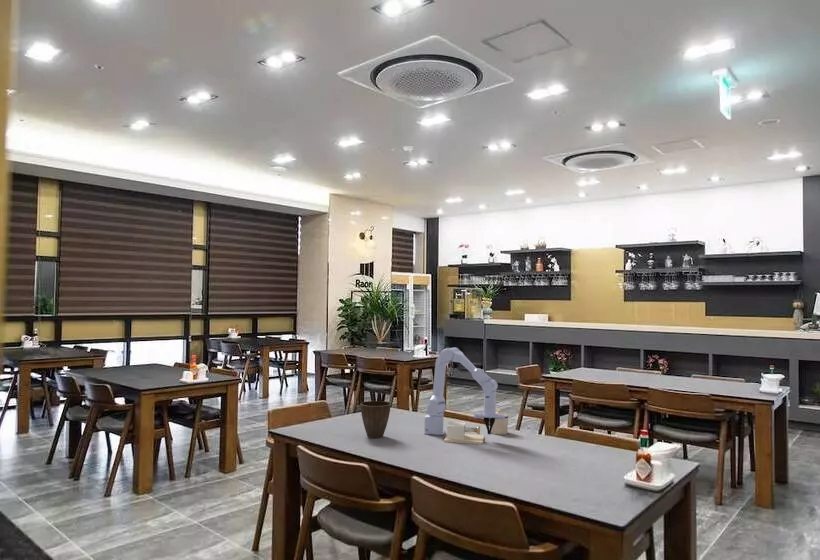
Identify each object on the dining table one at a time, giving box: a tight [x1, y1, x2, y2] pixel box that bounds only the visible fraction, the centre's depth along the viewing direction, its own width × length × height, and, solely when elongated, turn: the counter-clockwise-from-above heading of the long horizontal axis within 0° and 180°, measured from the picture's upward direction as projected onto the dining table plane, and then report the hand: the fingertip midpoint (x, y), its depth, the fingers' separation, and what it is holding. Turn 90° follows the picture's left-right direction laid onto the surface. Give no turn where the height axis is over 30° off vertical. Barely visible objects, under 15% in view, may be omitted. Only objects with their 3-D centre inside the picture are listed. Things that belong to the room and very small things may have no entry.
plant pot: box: [359, 400, 392, 439], centre depth 277 cm, size 15×15×16 cm
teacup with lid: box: [489, 409, 509, 436], centre depth 292 cm, size 12×9×12 cm
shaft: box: [464, 425, 481, 435], centre depth 274 cm, size 12×4×4 cm, turn 80°
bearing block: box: [443, 421, 485, 445], centre depth 274 cm, size 18×14×7 cm
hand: (489, 433), depth 272 cm, fingers closed
